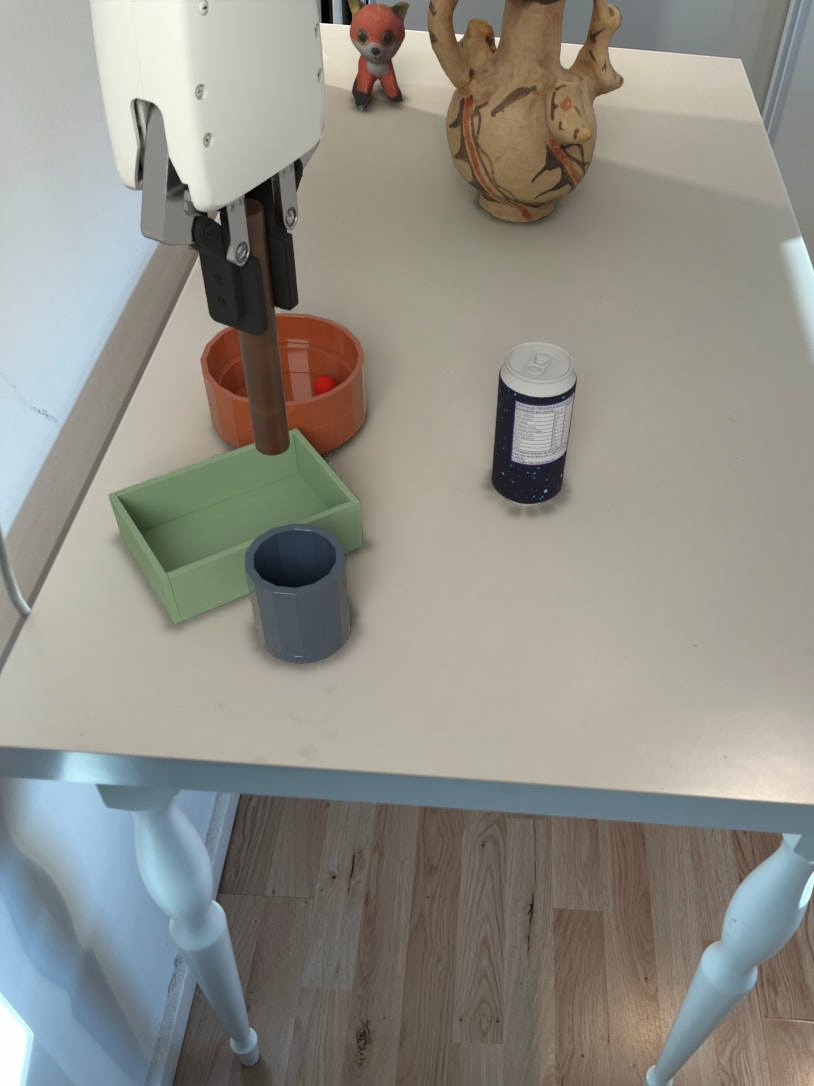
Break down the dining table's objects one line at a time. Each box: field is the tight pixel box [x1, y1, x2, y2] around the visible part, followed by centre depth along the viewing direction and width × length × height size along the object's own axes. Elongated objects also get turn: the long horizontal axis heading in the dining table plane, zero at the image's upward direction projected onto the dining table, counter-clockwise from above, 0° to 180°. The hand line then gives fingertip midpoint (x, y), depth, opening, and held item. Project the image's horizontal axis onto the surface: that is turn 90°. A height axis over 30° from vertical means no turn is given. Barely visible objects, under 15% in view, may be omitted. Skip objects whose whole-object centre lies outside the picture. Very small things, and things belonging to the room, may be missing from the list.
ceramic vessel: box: [427, 0, 625, 224], centre depth 101 cm, size 18×19×25 cm
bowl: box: [199, 312, 368, 457], centre depth 81 cm, size 13×13×6 cm
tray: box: [107, 428, 364, 625], centre depth 72 cm, size 15×10×4 cm, turn 124°
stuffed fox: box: [347, 0, 410, 112], centre depth 123 cm, size 8×11×12 cm
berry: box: [314, 375, 337, 396], centre depth 84 cm, size 2×2×2 cm
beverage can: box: [491, 341, 578, 507], centre depth 74 cm, size 6×6×12 cm
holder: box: [245, 523, 352, 664], centre depth 66 cm, size 6×6×7 cm
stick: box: [238, 198, 290, 456], centre depth 51 cm, size 2×2×14 cm
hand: (254, 311), depth 50 cm, fingers closed on stick, 2 cm apart
